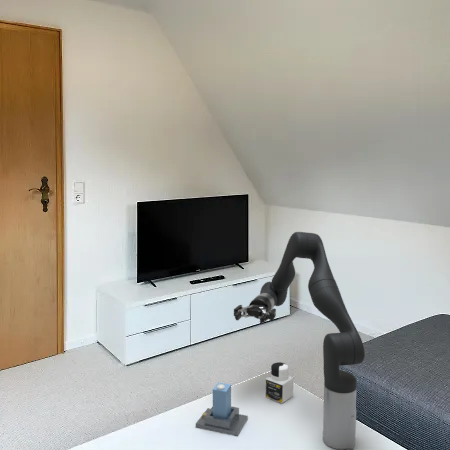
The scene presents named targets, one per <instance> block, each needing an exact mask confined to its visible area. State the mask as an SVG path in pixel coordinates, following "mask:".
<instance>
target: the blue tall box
mask: <svg viewBox="0 0 450 450" xmlns="http://www.w3.org/2000/svg"><path fill="white" fill-rule="evenodd" d="M212 406H213V416H214V417H219V418H224V419H228V418H229V416H230V415H231V406H232V384H231V383H223V382H217V383H216V385H214V387H213V388H212Z"/></svg>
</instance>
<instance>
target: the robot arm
mask: <svg viewBox="0 0 450 450" xmlns="http://www.w3.org/2000/svg"><path fill="white" fill-rule="evenodd" d="M296 258H299V259H307V260H308V259H309V260H311V261H312V264H313V271H312V272H311V274H310V277H309V280H308V284H307V288H308V293H309V295H310V299H311V302H312V304H313V306H314V307H315V308H316V309H317V311H318V312H320V313H321V314H322V315H323V316H325V318H327V319H328V320H329V321H330V322H331V323H333V324H334V325H335V327H336V328H337V330H338V331H339V332H333V333H332V332H330V333H327V334H326V335H325V336H324V338H323V343H322V344H323V345H322V355H323V379H324V382H323V410H322V412H323V415H322V417H323V418H322V421H323V422H322V440H323V443H324V444H325V445H326V446H328V447H329V448H333V449H336V450H348V449H350V450H354V449H355V448H354V447H355V441H356V434H357V433H356V430H357V408H356V407H357V388H358V387H357V384H358V383H357V381H358V380H357V378H356V376H354V375H353V374H352V373H350V372H348V371H344V370H342V369H340V366H341V367H342V366H351V365H352V366H353V365H359V364H361V363H363V362H364V360H365V356H366V353H365V352H366V351H365V346H364V343H363V340H362V338H361V335H360V332H358V330H357V328H356V326H355V324H354V322H353V320H352V318H351V317H350V314H349V312H348V309H347V307H346V305H345V303H344V299H343V297H342V295H341V291H340V289H339V287H338V284H337V281H336V279H335V277H334V274H333V272H332V269H331V266H330V264H329V260H328V258H327V254H326V250H325V246H324V242H323V240H322V238H321V236H320V235H319V234H317V233H313V232H303V231H295V232H293V233H292V234H291V236H290V237H289V239H288V241H287V244H286V247H285V249H284V253H283V256H282V259H281V260H280V261H281V262H280V264H279V267H278V268H277V270H276V272H275V273H274V275H273V277H272V279H271V281H267V282H265V283H264V284H263V285H262V286H261V288H260V292H259V294H257V295H256V296H255V297H254V299H252V300H251V301H250V302H249V304H248V305H247V306H245V307H243V305H242V304H239V305H238V306H236V307H235V308H233V316H234V319H235V321H240V319H242V318H245V319H246V318H255V319H257V320H258V319H259V324H263V323H265V322H266V321H268V320H269V321H270V322H272V321H274V320H275V318H276V316H277V309H276V308H274V307H280V306H282V305H284V303H285V302H286V299H287V297H288V296H287V295H288V290H289V287H290V286H291V284H292V283H293V281H294V279H295V277H296V268H295V266H294V260H295V259H296Z"/></svg>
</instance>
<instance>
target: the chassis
mask: <svg viewBox="0 0 450 450" xmlns="http://www.w3.org/2000/svg"><path fill="white" fill-rule="evenodd" d="M248 419H249V416H248V415H245V414H241V413H240V407H237V406H236V407H235V406H232V405H231V415H230V416H229V418H228V419H224V418H219V417H214V416H213V405H212V406H211V408H206V410H205V411H204V412H202V414H201V416H200V417H199V419H198V420H197V422H195V428H198V429H203V430H208V431H213V432H218V433H220V434H227V435H232V436H237V437H238V436H239V435H240V433H241V431H243V428H244V426H245V424H247V421H248Z"/></svg>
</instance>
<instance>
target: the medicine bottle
mask: <svg viewBox="0 0 450 450" xmlns="http://www.w3.org/2000/svg"><path fill="white" fill-rule="evenodd" d="M293 396H294V377H293V376H291V375H289V365H288V364H287V363H284V362H281V361H280V362H274V363H272V364H271V367H270V376H267V377H266V378H265V398H267V399H269V400H272V401H275V402H276V403H280V404H283V403H285V402H286V401H288V400H290V399H291V398H293Z"/></svg>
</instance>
